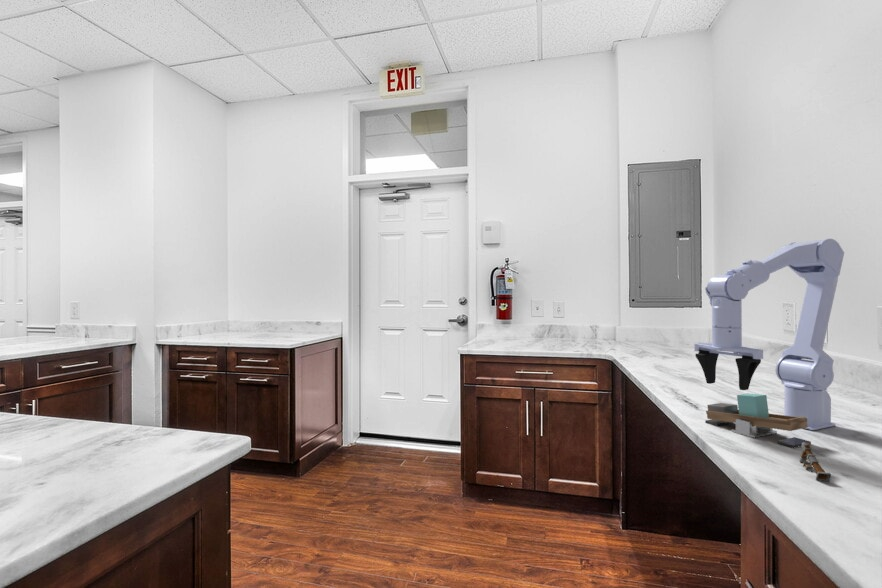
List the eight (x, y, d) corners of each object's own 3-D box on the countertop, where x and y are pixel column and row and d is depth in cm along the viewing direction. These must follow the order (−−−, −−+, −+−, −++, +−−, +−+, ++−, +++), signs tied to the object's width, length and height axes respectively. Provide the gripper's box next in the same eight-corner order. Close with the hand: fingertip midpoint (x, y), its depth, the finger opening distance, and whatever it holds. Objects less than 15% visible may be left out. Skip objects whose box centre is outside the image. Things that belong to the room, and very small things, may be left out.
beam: (724, 418, 109) (722, 402, 110) (808, 430, 93) (806, 411, 93) (707, 421, 107) (705, 405, 107) (790, 434, 90) (787, 415, 91)
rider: (750, 415, 102) (748, 393, 103) (769, 417, 99) (766, 394, 99) (739, 417, 101) (736, 395, 101) (757, 419, 97) (755, 396, 98)
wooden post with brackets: (805, 458, 82) (810, 439, 80) (826, 493, 75) (831, 473, 73) (793, 457, 83) (798, 438, 81) (813, 491, 76) (818, 472, 74)
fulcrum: (724, 419, 110) (724, 406, 110) (813, 443, 93) (813, 428, 93) (702, 423, 107) (702, 409, 107) (790, 448, 90) (790, 433, 89)
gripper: (685, 325, 106) (686, 381, 106) (748, 330, 93) (749, 394, 93) (705, 324, 109) (705, 379, 109) (769, 329, 96) (769, 391, 96)
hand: (726, 386), depth 101 cm, fingers open, 7 cm apart
